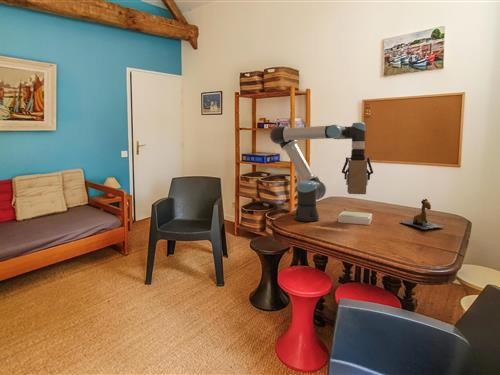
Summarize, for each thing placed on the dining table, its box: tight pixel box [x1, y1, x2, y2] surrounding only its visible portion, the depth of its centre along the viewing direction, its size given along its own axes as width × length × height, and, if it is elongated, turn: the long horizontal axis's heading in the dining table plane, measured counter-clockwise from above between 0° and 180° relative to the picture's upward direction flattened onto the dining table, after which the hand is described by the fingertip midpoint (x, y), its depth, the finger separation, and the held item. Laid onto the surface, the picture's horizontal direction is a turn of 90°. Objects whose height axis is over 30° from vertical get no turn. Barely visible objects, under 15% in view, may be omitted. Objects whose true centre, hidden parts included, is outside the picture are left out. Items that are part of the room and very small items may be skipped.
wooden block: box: [347, 159, 368, 195], centre depth 205 cm, size 10×10×20 cm
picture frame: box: [337, 210, 373, 226], centre depth 208 cm, size 18×18×4 cm
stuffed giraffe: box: [398, 198, 445, 230], centre depth 197 cm, size 16×18×16 cm
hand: (356, 185), depth 206 cm, fingers closed on wooden block, 11 cm apart
